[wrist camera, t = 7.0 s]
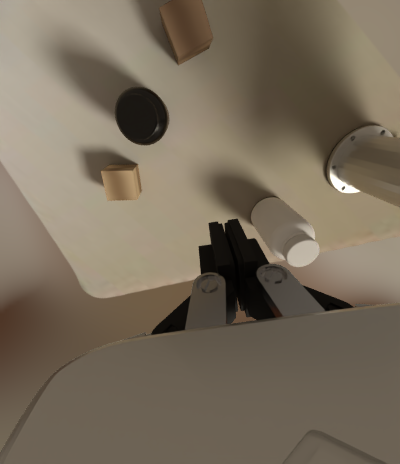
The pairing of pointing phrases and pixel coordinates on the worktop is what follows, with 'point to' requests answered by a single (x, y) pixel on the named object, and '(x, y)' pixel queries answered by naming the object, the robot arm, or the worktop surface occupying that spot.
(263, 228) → the pill bottle
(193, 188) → the worktop surface
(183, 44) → the walnut block
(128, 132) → the supplement bottle
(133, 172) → the maple block
